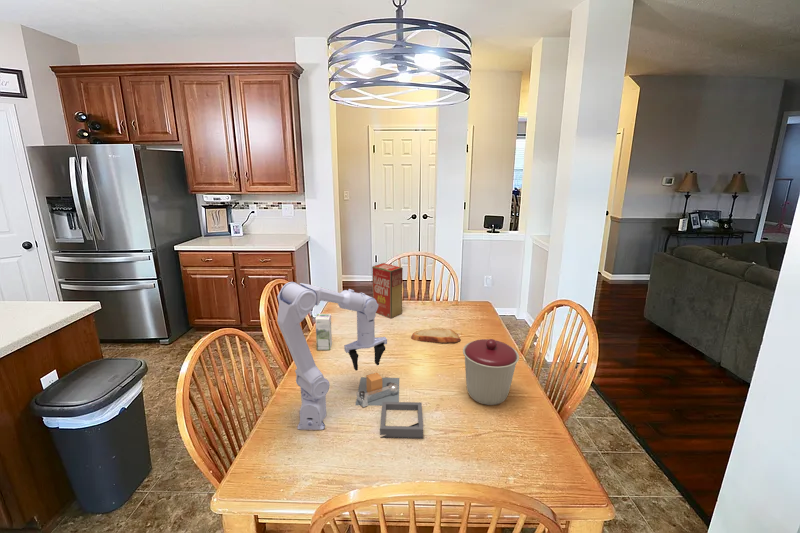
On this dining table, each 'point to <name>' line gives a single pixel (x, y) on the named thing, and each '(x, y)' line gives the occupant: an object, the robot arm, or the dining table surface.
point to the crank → (376, 394)
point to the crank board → (384, 384)
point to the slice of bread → (436, 336)
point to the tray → (402, 431)
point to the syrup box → (323, 331)
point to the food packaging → (387, 289)
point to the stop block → (373, 382)
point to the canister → (489, 370)
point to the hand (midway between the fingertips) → (366, 366)
